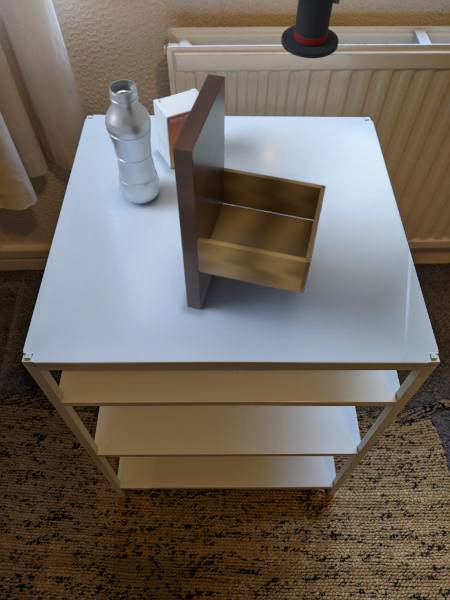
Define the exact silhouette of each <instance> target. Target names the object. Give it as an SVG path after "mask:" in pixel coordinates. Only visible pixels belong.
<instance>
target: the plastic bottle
mask: <svg viewBox="0 0 450 600" xmlns="http://www.w3.org/2000/svg"><path fill="white" fill-rule="evenodd" d="M108 91H109V101H110V103H111V104H110V105H109V107H108V108H107V111H106V113H105V116H104V125H105V128H106V131H107V134H108V136H109V138H110V140H111V144H112V145H113V149H114V152H115V156H116V159H117V160H116V162H117V168H118V188H119V191H120V192H121V194H122V196H123V198H124V199H126V200H127V201H128V202H131V203H133V204H140V205H141V204H146V203H149V202H151V201H153V200H154V199H155V198H156V197H157V196H158V194H159V192H160V186H161V181H160V177H159V174H158V170H157V169H156V166H155V162H154V159H153V154H152V153H153V152H152V142H151V135H152V133H151V132H152V119H151V115H150V112H149V111H148V110H147V108H146V107H145V106H144V104H142V103H141V102H140V101H139V92H138V89H137V84H136V83H135V82H134V81H133V80H130V79H127V78H124V79H117V80H114V81H112V82H111V83H110V84H109V85H108Z"/></svg>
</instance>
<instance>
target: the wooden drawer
mask: <svg viewBox="0 0 450 600" xmlns="http://www.w3.org/2000/svg"><path fill="white" fill-rule="evenodd" d="M198 92H199V94H198V96H197V98H196V100H195V103H194V105H193V107H192V109H191V111H190V113H189V115H188V117H187V119H186V121H185V123H184V126H183V128H182V130H181V132H180V134H179V136H178V138H177V140H176V142H175V144H174V146H173V157H174V168H173V169H174V178H175V187H176V198H177V209H178V218H179V220H178V221H179V231H180V232H179V233H180V241H181V242H180V243H181V252H182V263H183V273H184V274H183V275H184V285H185V295H186V305H187V307H188V308H192V309H197V310H201V309H202V306H203V304H204V300H205V298H206V295H207V292H208V288H209V286H210V283H211V280H212V276H216V277H221V278H227V279H230V280H231V279H232V280H235V281H240V282H245V283H250V284H255V285H259V286H265V287H270V288H274V289H279V290H284V291H289V292H293V293H302V294H303V293H304V292H305V288H306V285H307V279H308V275H309V272H310V266H311V263H312V258H313V253H314V248H315V242H316V237H317V233H318V232H317V231H318V229H319V223H320V218H321V214H322V208H323V202H324V199H325V192H326V187H327V185H323V184H317V183H312V182H307V181H301V180H296V179H295V180H294V179H289V178H284V177H279V176H273V175H267V174H262V173H257V172H251V171H245V170H240V169H233V168H228V167H225V122H226V121H225V118H226V111H225V110H226V107H225V106H226V96H225V95H226V77H225V76H224V75H217V74H210V73H208V74H207V76H206V78H205V79H204V81H203V84H202V85H201V88H200V90H199V91H198Z"/></svg>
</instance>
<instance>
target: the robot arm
mask: <svg viewBox="0 0 450 600" xmlns="http://www.w3.org/2000/svg"><path fill="white" fill-rule="evenodd" d="M340 1H341V0H333V4H335V5H340Z"/></svg>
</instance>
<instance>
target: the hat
mask: <svg viewBox="0 0 450 600" xmlns="http://www.w3.org/2000/svg"><path fill="white" fill-rule="evenodd" d="M333 4H334V3H333V0H297V8H296V16H295V24H294V25H292V26H290V27H288V28H287V29H284V31H283V32H282V34H281V37H280V39H281V40H280V42H281V46H282V48H283V49H284V50H285V51H286V52H288V53H289V54H291V55H293V56H296V57H300V58H303V59H322V58H325V57H329V56H331V55H333V53H335V52H336V51H337V49H338V46H339V42H340V41H339V37H338V35H337V34H336V33H335V32H334V31H333V30H331V29H330V28H329V27H330V23H331V17H332V16H331V15H332V11H333Z"/></svg>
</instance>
